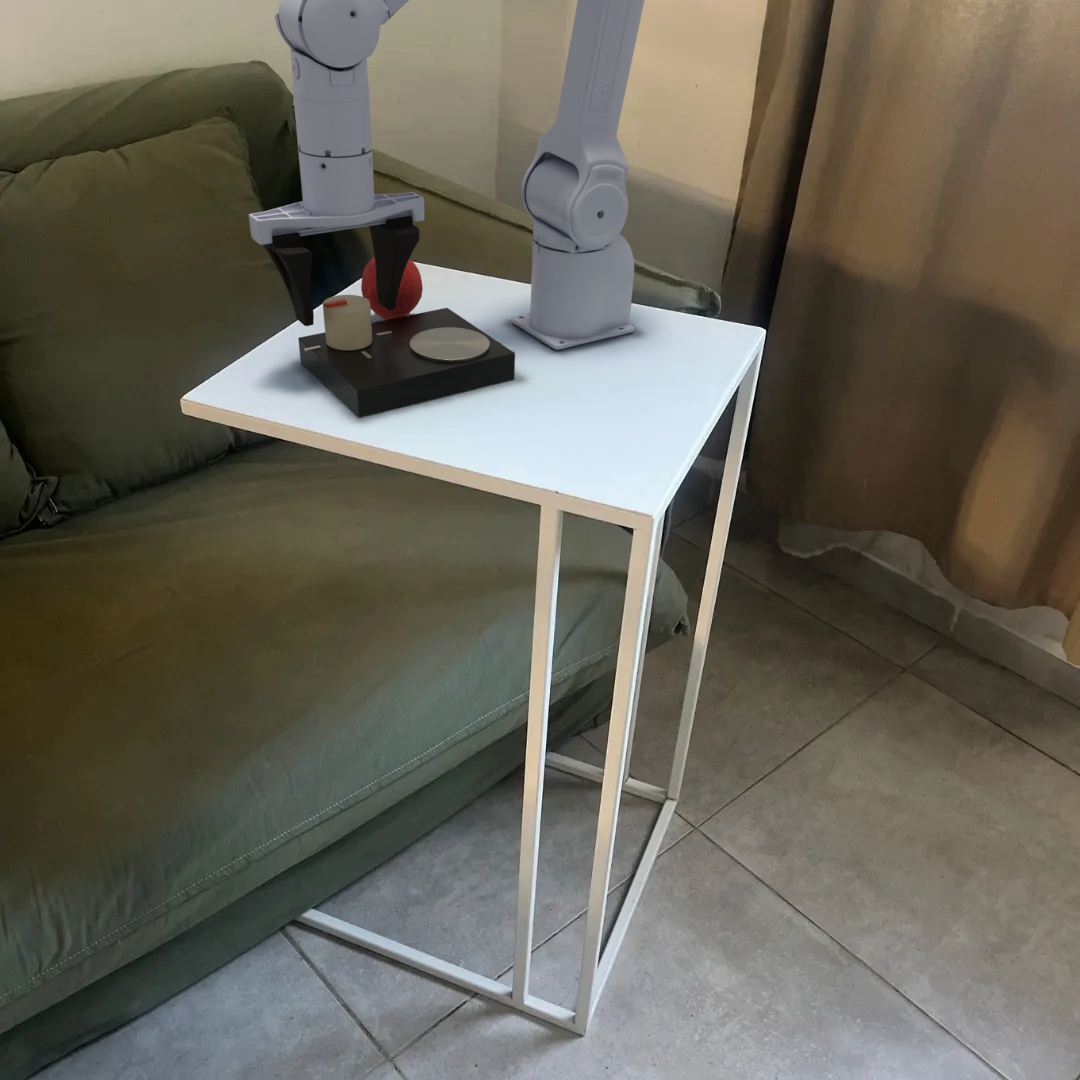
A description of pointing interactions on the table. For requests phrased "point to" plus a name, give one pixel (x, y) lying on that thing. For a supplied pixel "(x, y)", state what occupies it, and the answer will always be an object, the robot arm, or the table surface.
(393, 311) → the onion
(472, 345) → the burner
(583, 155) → the robot arm
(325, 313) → the knob
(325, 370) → the hob
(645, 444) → the table surface
